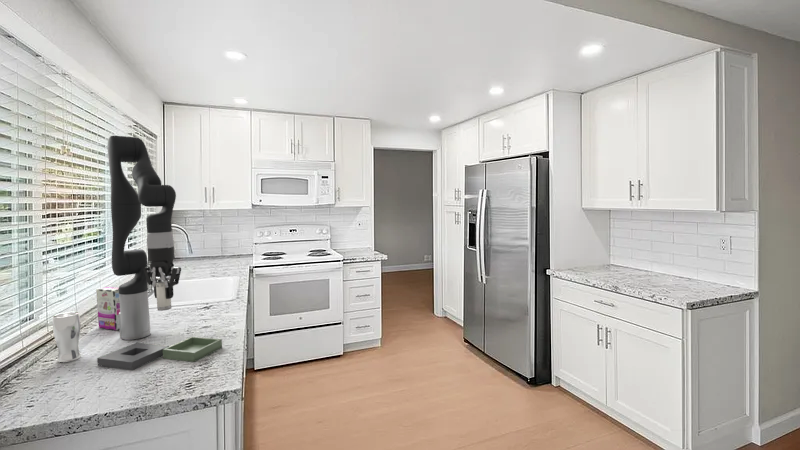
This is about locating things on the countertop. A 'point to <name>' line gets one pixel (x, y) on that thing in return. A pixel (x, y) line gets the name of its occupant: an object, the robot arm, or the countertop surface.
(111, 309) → the candy bar box
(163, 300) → the fuse
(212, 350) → the tray
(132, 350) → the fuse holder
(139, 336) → the robot arm
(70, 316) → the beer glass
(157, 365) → the countertop surface
